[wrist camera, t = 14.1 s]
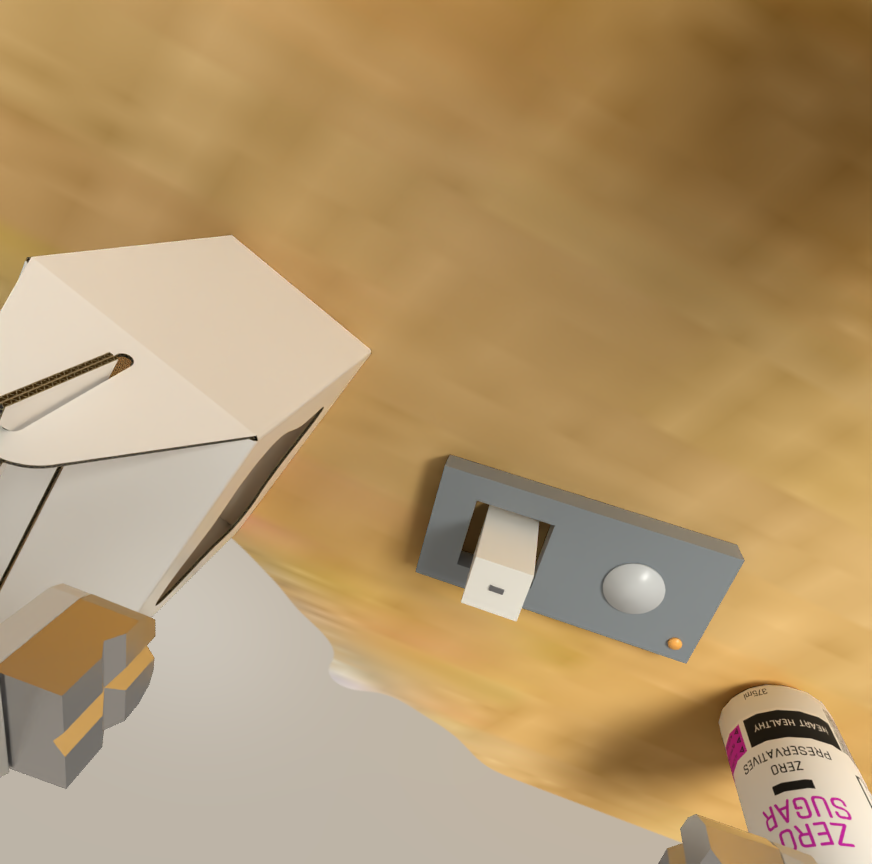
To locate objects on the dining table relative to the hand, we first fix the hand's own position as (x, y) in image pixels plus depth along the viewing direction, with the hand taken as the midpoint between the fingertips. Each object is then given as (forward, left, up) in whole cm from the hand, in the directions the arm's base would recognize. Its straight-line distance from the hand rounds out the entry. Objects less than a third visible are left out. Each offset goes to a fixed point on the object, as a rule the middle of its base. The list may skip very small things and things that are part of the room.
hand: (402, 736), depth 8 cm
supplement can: (-28, +26, -34) cm, 51 cm away
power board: (-8, +17, -34) cm, 39 cm away
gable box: (+21, +13, -34) cm, 42 cm away
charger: (-3, +17, -34) cm, 38 cm away
